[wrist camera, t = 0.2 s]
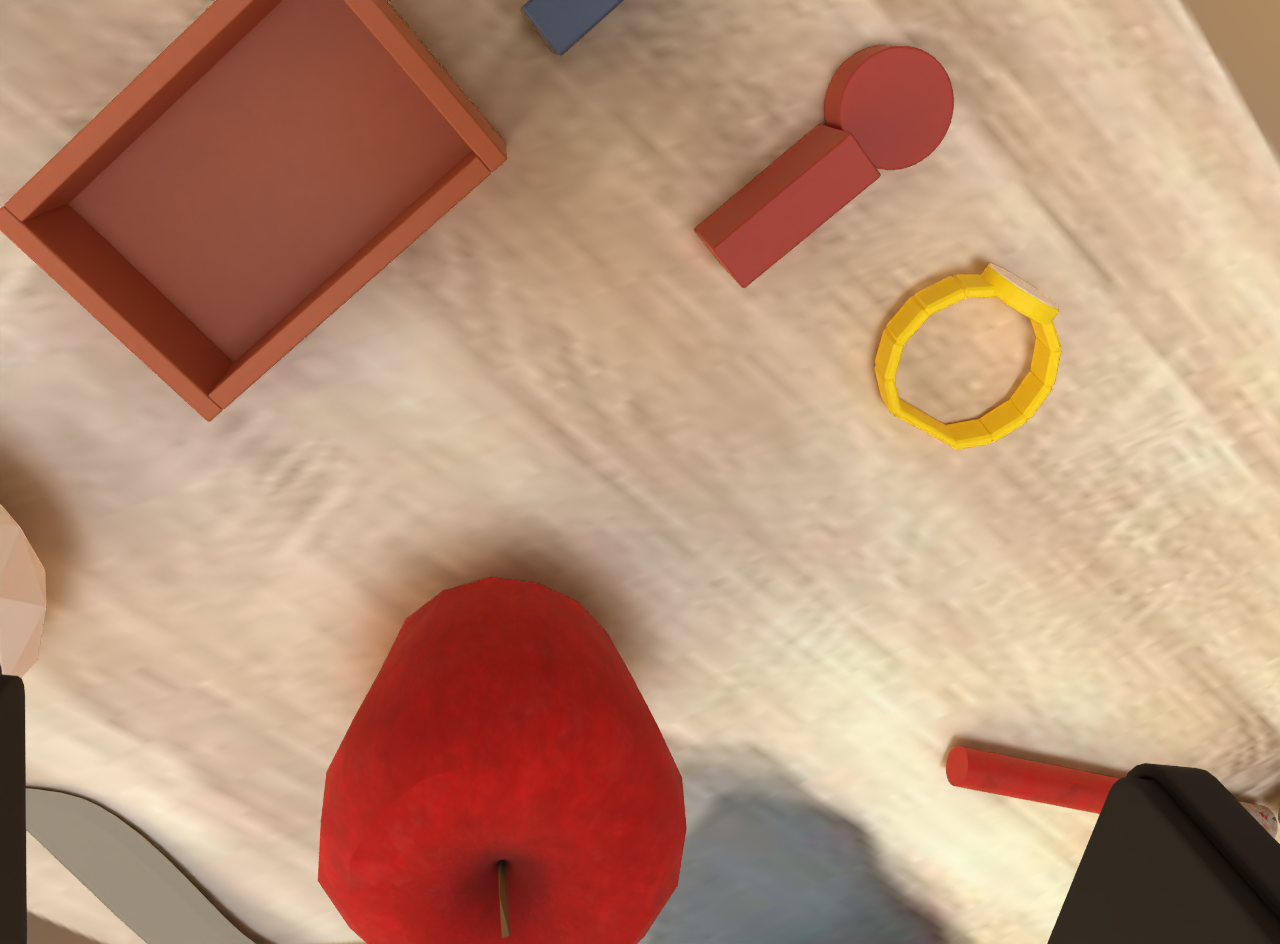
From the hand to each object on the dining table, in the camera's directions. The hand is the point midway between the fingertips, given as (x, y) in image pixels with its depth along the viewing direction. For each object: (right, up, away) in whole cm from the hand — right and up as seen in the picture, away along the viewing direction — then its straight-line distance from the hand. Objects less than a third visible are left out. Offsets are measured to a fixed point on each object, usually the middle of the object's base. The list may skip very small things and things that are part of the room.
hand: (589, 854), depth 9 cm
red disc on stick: (+6, +14, +26) cm, 30 cm away
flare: (+21, -9, +36) cm, 42 cm away
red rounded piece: (-5, -4, +32) cm, 32 cm away
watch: (+10, +5, +29) cm, 31 cm away
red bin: (-11, +12, +24) cm, 29 cm away
